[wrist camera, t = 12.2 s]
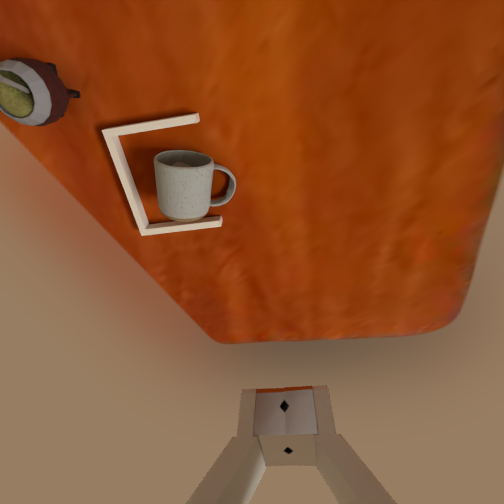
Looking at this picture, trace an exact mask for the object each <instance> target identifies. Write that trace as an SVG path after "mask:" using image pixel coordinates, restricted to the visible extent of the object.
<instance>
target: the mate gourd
mask: <svg viewBox="0 0 504 504" xmlns="http://www.w3.org/2000/svg"><path fill="white" fill-rule="evenodd" d="M72 97H73V98H80V92H79V91H75V90H69V89H66V88H65V86H64V84H63V82H62V81H61V79H60V78H59V77H58V76H57V71H56V66H55V64H52V63H47V64H45V63H43V62H41V61H38V60H33V59H23V58H12V59H9V60H5V61H2V62H0V110H1V111H2V112H3V113H4V114H5V115H6V116H8V117H10V118H11V119H13V120H15V121H17V122H19V123H21V124H25V125H31V126H44V125H47V124H50V123H53V122H55V121H57V120H58V119H59V118H60V117H62V116H64V112H65V111H66V109H67V105H68V102H69V99H70V98H72Z"/></svg>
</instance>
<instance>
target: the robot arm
mask: <svg viewBox="0 0 504 504" xmlns="http://www.w3.org/2000/svg"><path fill="white" fill-rule="evenodd" d="M285 465H305V466H317V468H318V470H319V471H320V473H321V475H322V476H323V478H324V479H325V481H326V483H327V485H328V486H329V487H330V490H331V491H332V493H333V494H334V496H335V498H336V499H337V501H338V503H339V504H397V503H396V502H395V501H394V500H393V499H392V497H391V496H390V495H389V493H388V492H387V491H386V490H385V489H384V487H383V486H382V485H381V483H380V482H379V481H378V480H377V478H376V477H375V476H374V475H373V474H372V472H371V471H370V470H369V469H368V467H367V466H366V465H365V464H364V462H363V461H362V460H361V459H360V458H359V456H358V455H357V454H356V453H355V451H354V450H353V449H352V447H351V446H350V445H349V444H348V443H347V441H346V440H345V439H344V438H343V436H342V435H341V434H336V430H335V424H334V418H333V413H332V407H331V401H330V395H329V389H328V387H327V385H326V386H313V387H312V386H302V387H289V388H288V387H286V388H275V389H274V388H272V389H271V388H270V389H243V390H242V393H241V400H240V409H239V420H238V429H237V437H232V439H231V440H230V441H229V443H228V445H227V446H226V447H225V448H224V450H223V451H222V453H221V454H220V456H219V457H218V458H217V460H216V461H215V463H214V464H213V466H212V467H211V468H210V470H209V471H208V473H207V474H206V476H205V477H204V478H203V480H202V482H201V483H200V484H199V486H198V487H197V488H196V490H195V491H194V493H193V494H192V496H191V497H190V498H189V500H188V501H187V503H186V504H248V503H249V501H250V499H251V497H252V495H253V493H254V491H255V489H256V487H257V485H258V483H259V481H260V479H261V477H262V475H263V473H264V471H265V469H266V466H285Z"/></svg>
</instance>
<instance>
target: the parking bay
mask: <svg viewBox="0 0 504 504" xmlns="http://www.w3.org/2000/svg"><path fill="white" fill-rule="evenodd" d="M199 121H200V119H199V114H198V113H194V114H188V115H182V116H176V117H170V118H164V119H158V120H152V121H146V122H140V123H134V124H128V125H122V126H116V127H110V128H106V129H103V130H102V133H103V135H104V138H105V141H106V143H107V146H108V148H109V151H110V154H111V156H112V159H113V162H114V164H115V167H116V170H117V172H118V175H119V178H120V180H121V183H122V185H123V188H124V191H125V193H126V196H127V199H128V201H129V204H130V207H131V209H132V212H133V215H134V217H135V220H136V222H137V225H138V228H139V230H140V233H141V236H143V235H152V234H160V233H169V232H177V231H186V230H195V229H203V228H212V227H221V224H222V222H223V221H222V217H221V216H215V217H207V218H201V219H198V220H195V221H189V222H181V221H174V222H165V223H157V224H149V222H148V219H147V216H146V214H145V211H144V208H143V205H142V202H141V200H140V197H139V194H138V191H137V188H136V186H135V183H134V180H133V177H132V174H131V172H130V169H129V166H128V163H127V160H126V158H125V155H124V152H123V149H122V146H121V144H120V141H119V138H118V136H119V135H125V134H131V133H137V132H143V131H149V130H155V129H162V128H168V127H174V126H180V125H186V124H192V123H197V122H199Z"/></svg>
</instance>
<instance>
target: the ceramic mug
mask: <svg viewBox="0 0 504 504" xmlns="http://www.w3.org/2000/svg"><path fill="white" fill-rule="evenodd" d="M154 168H155V178H156V187H157V198H158V205H159V208H160V211H161V213H162V214H163V215H164V216H165V217H167V218H169V219H171V220H175V221H181V222H189V221H195V220H198V219H201V218H202V217H204V216H205V215H206V214H207V212H208V209H209V207H210V206H219V205H222V204H225V203H227V202H228V201H229V200H230V199H231V198H232V196H233V194H234V192H235V188H236V180H235V177H234V175H233V174H232V173H231V172H230V171H229V170H228V169H227V168H226V167H224V166H222V165H218V164H214V162H213V159H212V158H211V157H209V156H208V155H205V154H203V153H199V152H194V151H187V150H171V151H165V152H161V153H159V154H157V155H156V156H155V157H154ZM214 169H218V170H221V171H224V172H226V173H227V174H228V175H229V176H230V181H229V187H228V190H227V191H226V193H227V194H226V195H225V196H224V197H222V198H220V199H217V200H211V185H212V176H213V170H214Z"/></svg>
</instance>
